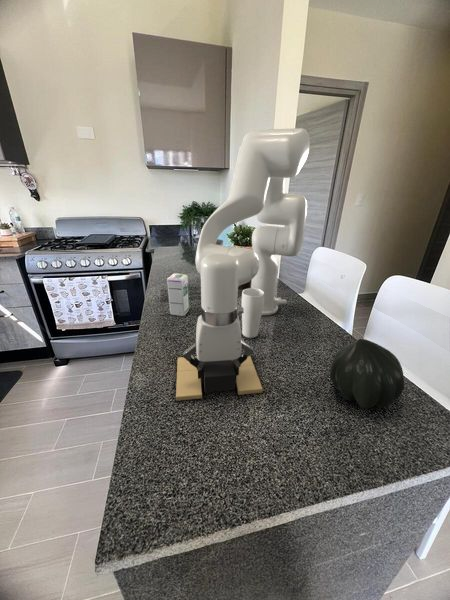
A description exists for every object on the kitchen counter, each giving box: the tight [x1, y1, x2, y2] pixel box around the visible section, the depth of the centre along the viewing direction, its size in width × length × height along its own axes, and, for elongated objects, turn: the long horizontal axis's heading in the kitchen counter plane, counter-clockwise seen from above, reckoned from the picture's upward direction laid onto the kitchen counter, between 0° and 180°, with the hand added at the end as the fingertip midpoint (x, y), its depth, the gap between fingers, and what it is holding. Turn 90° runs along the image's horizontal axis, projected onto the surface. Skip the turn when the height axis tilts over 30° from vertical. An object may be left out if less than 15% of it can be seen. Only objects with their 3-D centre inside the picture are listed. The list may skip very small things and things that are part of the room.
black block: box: [203, 360, 236, 393], centre depth 60 cm, size 7×7×4 cm
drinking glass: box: [240, 287, 264, 339], centre depth 79 cm, size 7×7×15 cm
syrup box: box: [166, 273, 190, 317], centre depth 92 cm, size 6×6×14 cm
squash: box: [329, 337, 405, 410], centre depth 57 cm, size 14×15×15 cm
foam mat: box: [175, 355, 263, 402], centre depth 64 cm, size 20×14×1 cm
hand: (218, 377), depth 61 cm, fingers closed on black block, 7 cm apart
